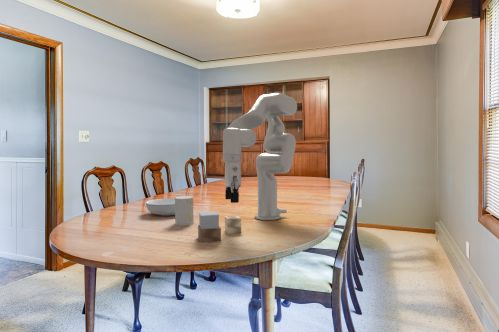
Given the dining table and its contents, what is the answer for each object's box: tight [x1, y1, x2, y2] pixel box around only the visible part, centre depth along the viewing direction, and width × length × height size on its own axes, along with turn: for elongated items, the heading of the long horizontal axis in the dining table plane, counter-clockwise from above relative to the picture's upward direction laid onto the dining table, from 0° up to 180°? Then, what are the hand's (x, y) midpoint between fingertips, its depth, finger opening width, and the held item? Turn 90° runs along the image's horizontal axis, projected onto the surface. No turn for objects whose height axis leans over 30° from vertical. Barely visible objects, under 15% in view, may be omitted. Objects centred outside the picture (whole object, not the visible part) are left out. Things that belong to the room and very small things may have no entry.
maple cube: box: [224, 215, 242, 235], centre depth 132 cm, size 6×6×6 cm
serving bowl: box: [145, 198, 175, 217], centre depth 168 cm, size 21×21×7 cm
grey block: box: [198, 210, 220, 229], centre depth 121 cm, size 6×6×5 cm
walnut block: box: [197, 224, 222, 244], centre depth 122 cm, size 8×8×5 cm
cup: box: [174, 195, 195, 227], centre depth 146 cm, size 8×8×12 cm
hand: (231, 200), depth 131 cm, fingers open, 9 cm apart
